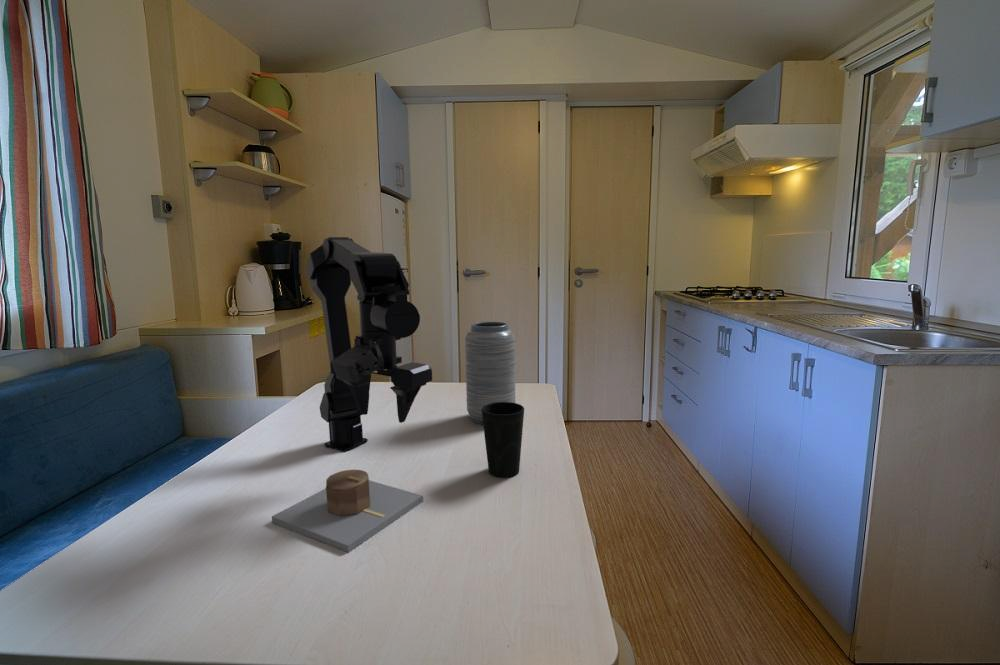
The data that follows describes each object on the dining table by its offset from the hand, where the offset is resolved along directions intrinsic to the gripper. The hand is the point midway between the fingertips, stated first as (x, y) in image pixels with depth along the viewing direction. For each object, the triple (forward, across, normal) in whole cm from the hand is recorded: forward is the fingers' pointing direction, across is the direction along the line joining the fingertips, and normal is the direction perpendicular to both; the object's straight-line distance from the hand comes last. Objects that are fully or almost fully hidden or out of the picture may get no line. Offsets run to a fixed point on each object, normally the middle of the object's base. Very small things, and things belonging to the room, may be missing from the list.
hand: (382, 417), depth 88 cm
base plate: (+11, +3, -11) cm, 16 cm away
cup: (+12, +17, +13) cm, 24 cm away
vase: (+12, -1, +37) cm, 39 cm away
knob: (+10, +3, -11) cm, 15 cm away
